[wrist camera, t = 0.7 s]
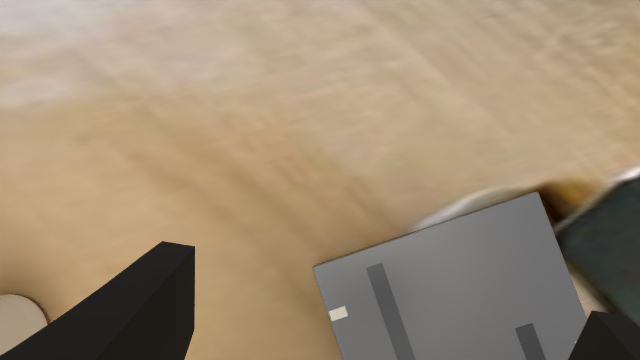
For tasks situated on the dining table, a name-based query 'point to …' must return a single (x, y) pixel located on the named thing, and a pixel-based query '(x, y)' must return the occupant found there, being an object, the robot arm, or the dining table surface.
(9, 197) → the dining table surface
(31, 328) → the drinking glass
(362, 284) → the panel
